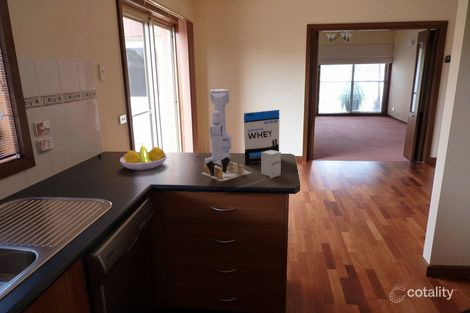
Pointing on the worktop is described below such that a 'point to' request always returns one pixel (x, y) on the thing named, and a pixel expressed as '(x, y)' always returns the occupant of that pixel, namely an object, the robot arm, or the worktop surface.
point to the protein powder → (260, 134)
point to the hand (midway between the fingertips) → (218, 174)
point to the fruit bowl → (144, 158)
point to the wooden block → (215, 171)
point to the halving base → (231, 171)
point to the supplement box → (271, 163)
